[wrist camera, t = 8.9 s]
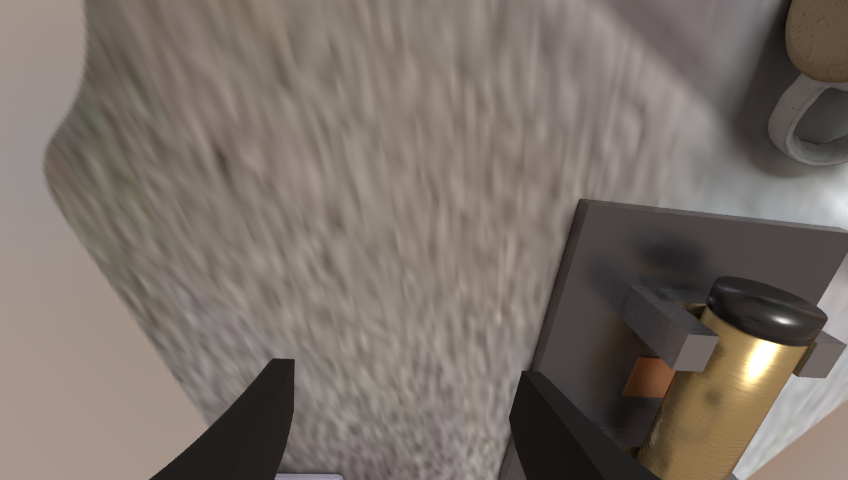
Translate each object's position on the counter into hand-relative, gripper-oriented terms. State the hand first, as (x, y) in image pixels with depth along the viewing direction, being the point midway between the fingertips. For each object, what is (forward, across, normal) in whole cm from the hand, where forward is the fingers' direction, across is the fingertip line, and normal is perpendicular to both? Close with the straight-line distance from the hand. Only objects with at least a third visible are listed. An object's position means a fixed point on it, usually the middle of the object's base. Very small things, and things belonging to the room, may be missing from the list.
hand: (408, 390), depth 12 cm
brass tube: (+7, -17, +6) cm, 19 cm away
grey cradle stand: (+9, -17, +6) cm, 20 cm away
